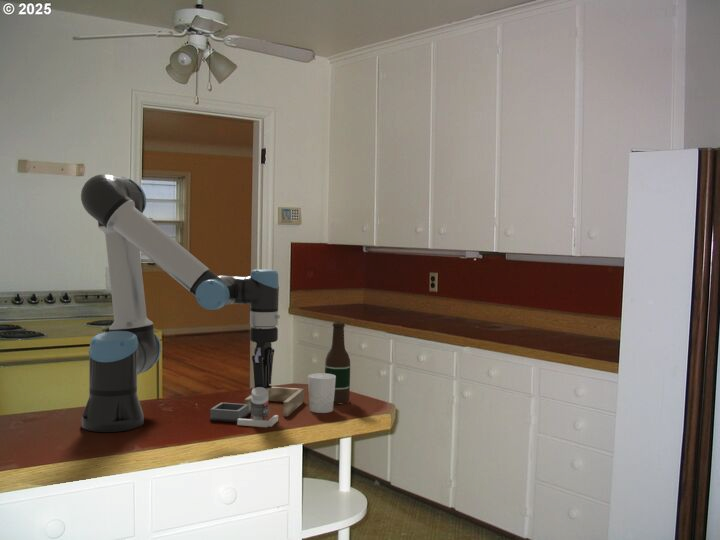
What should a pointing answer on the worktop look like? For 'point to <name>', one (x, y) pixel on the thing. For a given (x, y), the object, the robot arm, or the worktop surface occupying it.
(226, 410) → the bin
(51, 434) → the worktop surface
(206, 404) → the worktop surface
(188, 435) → the worktop surface
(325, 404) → the white cup
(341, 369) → the beer bottle
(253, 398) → the pill bottle
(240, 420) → the white l-shaped block
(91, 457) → the worktop surface
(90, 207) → the robot arm
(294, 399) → the cubby
